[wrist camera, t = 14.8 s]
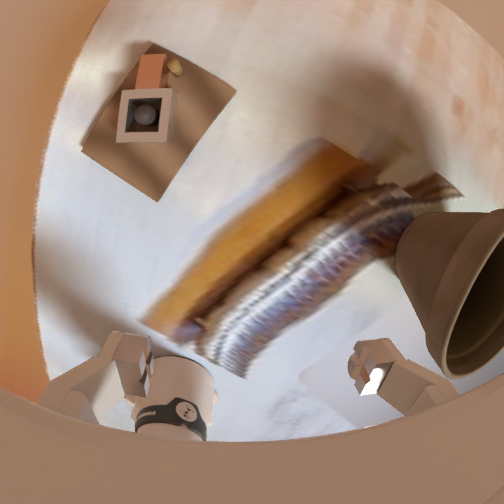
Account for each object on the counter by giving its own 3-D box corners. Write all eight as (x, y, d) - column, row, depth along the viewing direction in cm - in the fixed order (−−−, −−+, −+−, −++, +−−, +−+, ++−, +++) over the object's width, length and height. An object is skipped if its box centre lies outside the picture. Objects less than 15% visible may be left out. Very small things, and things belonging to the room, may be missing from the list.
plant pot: (348, 306, 45) (410, 395, 25) (389, 166, 37) (500, 191, 17) (437, 310, 49) (496, 368, 28) (474, 204, 41) (554, 237, 20)
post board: (159, 200, 36) (147, 209, 30) (86, 151, 32) (63, 152, 26) (236, 92, 31) (238, 80, 26) (156, 47, 27) (144, 30, 22)
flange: (172, 143, 32) (166, 142, 28) (127, 143, 31) (115, 142, 27) (183, 63, 28) (178, 53, 24) (137, 64, 27) (128, 56, 23)
